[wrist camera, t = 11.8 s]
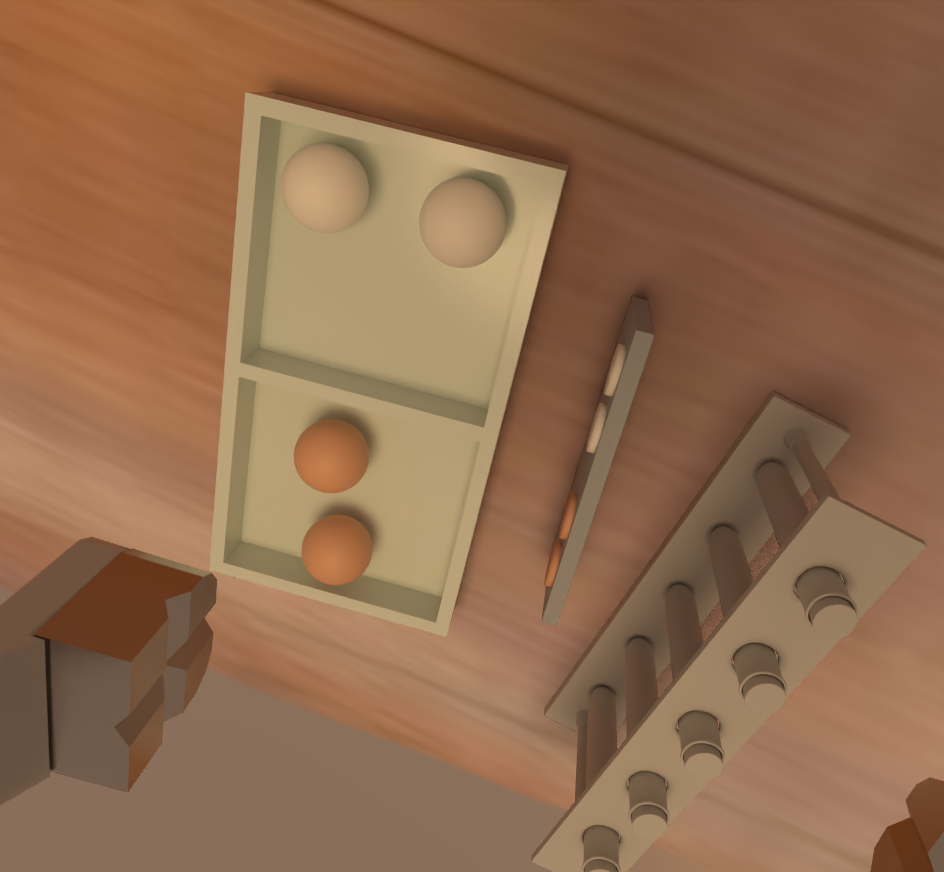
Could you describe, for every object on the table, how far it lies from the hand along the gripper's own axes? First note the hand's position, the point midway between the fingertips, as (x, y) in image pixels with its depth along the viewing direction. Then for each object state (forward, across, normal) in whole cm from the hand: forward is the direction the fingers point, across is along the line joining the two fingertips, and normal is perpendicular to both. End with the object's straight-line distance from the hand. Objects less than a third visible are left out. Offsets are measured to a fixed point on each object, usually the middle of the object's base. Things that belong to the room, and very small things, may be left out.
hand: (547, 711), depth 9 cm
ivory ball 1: (+30, +13, 0) cm, 33 cm away
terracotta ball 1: (+30, +9, +14) cm, 35 cm away
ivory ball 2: (+30, +6, 0) cm, 31 cm away
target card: (+31, -3, +10) cm, 33 cm away
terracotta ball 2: (+30, +9, +20) cm, 37 cm away
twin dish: (+31, +9, +10) cm, 34 cm away
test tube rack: (+32, -10, +18) cm, 38 cm away
